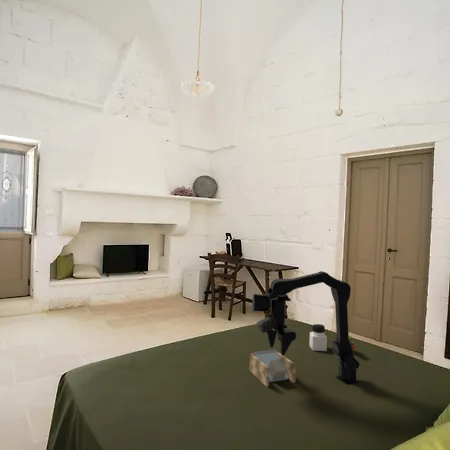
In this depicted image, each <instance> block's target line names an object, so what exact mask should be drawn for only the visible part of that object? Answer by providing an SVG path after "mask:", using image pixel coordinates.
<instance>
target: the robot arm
mask: <svg viewBox="0 0 450 450" xmlns="http://www.w3.org/2000/svg"><path fill="white" fill-rule="evenodd" d="M321 283H322V284H325V285H326V286H327V287H329V288H330V293H331V295H332V298H333V300H334V306H335V307H334V308H335V309H334V310H335V327H336V329H335V330H336V338H335V340H332V341H331V345H332V347H331V351H332V352H333V355H335V357H336V358H337V360H338V361H339V365H338V366H339V367H338V375H336V376H335V377H336V379H338V380H339V381H341V382H343V383H345V384H354V383H359V382H360V380H359V379H358V378H357V369H359V367H360V365H361V363H360V362H359V361H358V359H356V358H355V357H354V356H355V354H354V350H353V349H352V346H351V344H350V341H349V336H350V335H349V314H348V303H349V300H350V298H351V290H352V288H351V285H350V284H349V283H348V282H345V281H343V280H341V279H336V277H334V276H332V275H330V274H329V273H328V272H325V271H318V272H314V273H310V274H306V275H303V276H299V277H294V278H275V279H273V280H272V281H271V283H270V287H269V288H268V289H267V290H266V292H265V293H264V294H261V293H253V294H252V296H253V297H252V301H251V311H252V312H255V313H259V312H260V313H261V312H262V313H266V312H268V311H270V312H269V313H268V314H267V317H265V318H263V319H261V320H259V321H257V322H256V326H257V329H258V331H259V332H261V334H266V336H267V340H268V344H269V347H270V348H273V347H274V345H275V343H276V342H275V341H276V338H277V340H278V342H279V343H280V354H281V355H283V356H285V355H286V354H287V352H288V349H289V347H290V345H291V344H292V343H293V341H295V340H297V333H296V331H294V330H292V329H290V328H289V329H287V328H288V325H287V324H286V319H288V314H286V302H291V300H292V299H291V298H290V297H289V296H288V294H289V293H291V292H293V291H294V290H297V289H300V288H304V287H309V286H314V285H318V284H321Z"/></svg>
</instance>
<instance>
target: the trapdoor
mask: <svg viewBox="0 0 450 450" xmlns="http://www.w3.org/2000/svg"><path fill="white" fill-rule="evenodd" d="M253 353H254V354H255V356H256V357H257V358H258V359H259V360H261V361H262V362H263V363H264V364H265V365H267V366H269V364H270V362H271V360H277V359H280V357H279V355H278V353H277V349H276V348H275V349H267V350H258V351H254V352H253ZM286 380H287V381H288V380H289V377H288V375H287V372H286V374H285V376H284V378H278V379H272V377H271V375H270V373H269V383H272V382H273V383H274V382H280V381H286Z"/></svg>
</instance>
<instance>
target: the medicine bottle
mask: <svg viewBox="0 0 450 450" xmlns="http://www.w3.org/2000/svg"><path fill="white" fill-rule="evenodd" d="M325 328H326V327H325V325H323V324H322V323H321V324H320V323H314V324H312V326H311V331H310V332H309V348H310V349H311V350H312V351H314V352H315V351H317V352H327V351H328V336H327V335H326V334H325V333H326V332H325Z"/></svg>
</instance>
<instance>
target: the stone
mask: <svg viewBox="0 0 450 450" xmlns="http://www.w3.org/2000/svg"><path fill="white" fill-rule="evenodd" d="M268 367H269V373H270V375H271V377H272V379H278V378H284V376H285V374H286V372H287V368H286V366H285V364H284V362H283V359H277V360H271V362H270V364H269V366H268Z"/></svg>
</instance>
